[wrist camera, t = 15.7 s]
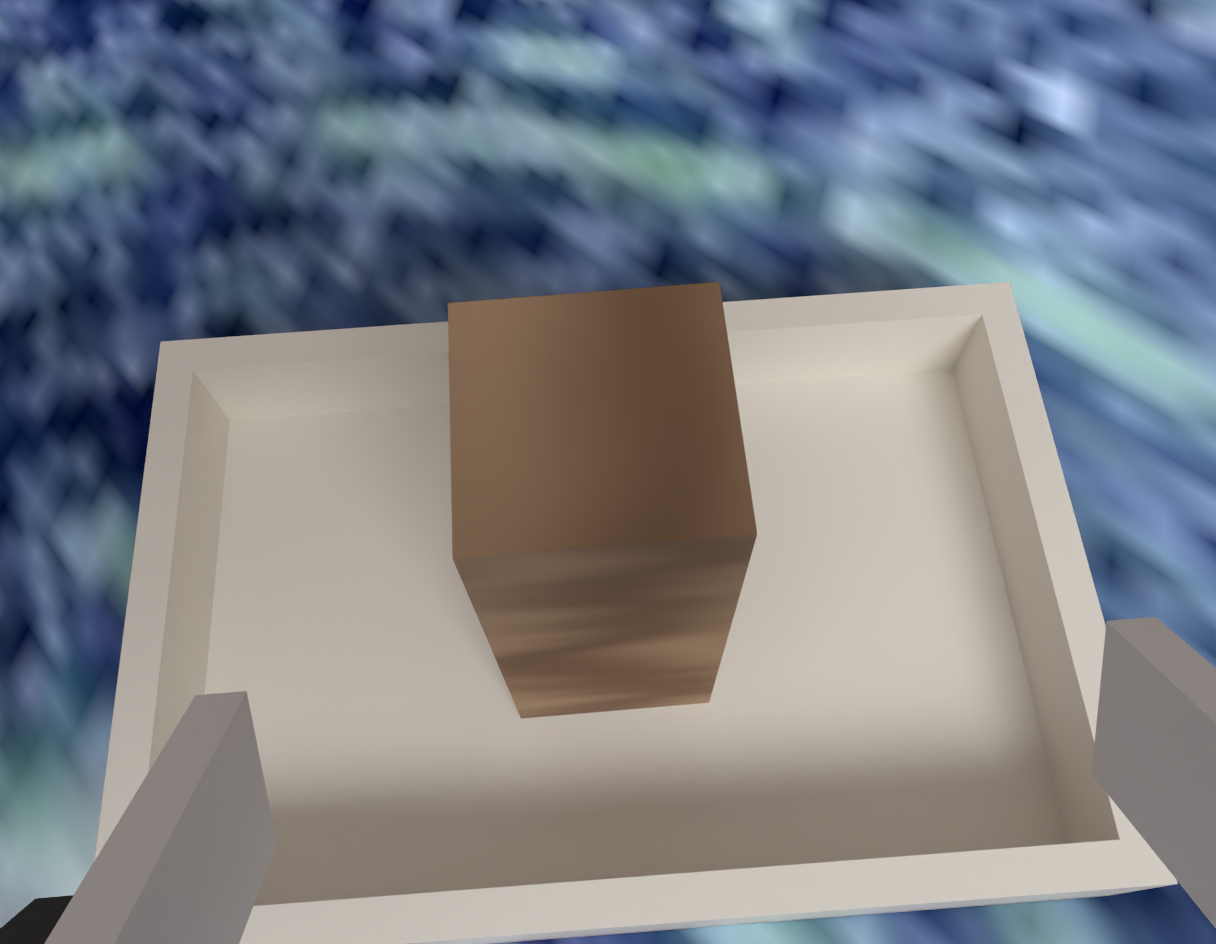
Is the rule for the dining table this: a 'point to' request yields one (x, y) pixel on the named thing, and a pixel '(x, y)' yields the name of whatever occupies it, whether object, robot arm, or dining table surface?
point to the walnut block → (599, 493)
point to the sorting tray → (648, 737)
